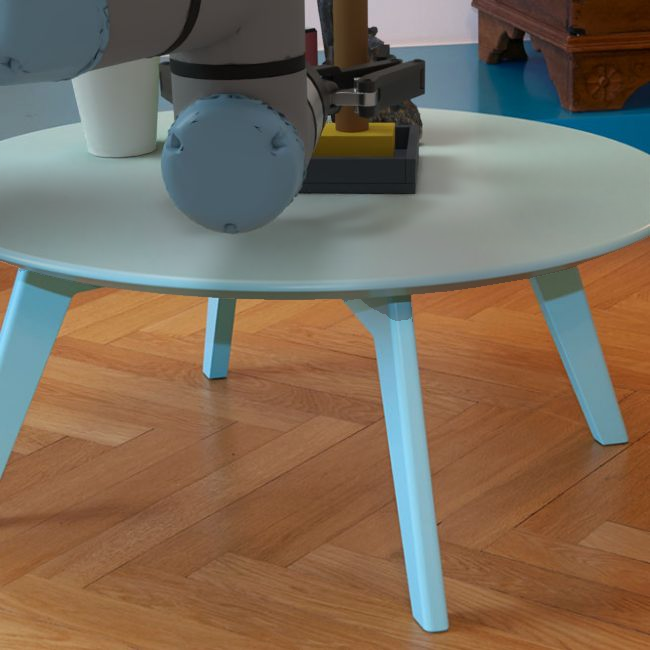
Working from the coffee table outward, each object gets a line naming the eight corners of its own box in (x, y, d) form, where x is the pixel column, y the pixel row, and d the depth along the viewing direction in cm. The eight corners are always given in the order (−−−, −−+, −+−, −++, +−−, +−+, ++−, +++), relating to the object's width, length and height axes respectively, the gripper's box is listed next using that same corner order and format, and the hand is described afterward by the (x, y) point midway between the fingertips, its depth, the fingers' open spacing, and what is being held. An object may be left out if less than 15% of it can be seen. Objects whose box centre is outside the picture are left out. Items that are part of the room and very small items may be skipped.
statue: (403, 151, 103) (403, -20, 98) (304, 135, 111) (299, -26, 105) (438, 140, 107) (440, -26, 102) (340, 125, 114) (337, -31, 109)
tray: (197, 192, 92) (195, 158, 91) (225, 155, 104) (223, 124, 102) (415, 193, 90) (415, 158, 89) (418, 155, 102) (419, 124, 101)
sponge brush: (308, 171, 94) (303, -3, 89) (314, 157, 99) (310, -10, 94) (392, 171, 94) (392, -5, 88) (394, 157, 98) (395, -11, 93)
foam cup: (143, 164, 101) (130, 14, 96) (52, 158, 104) (36, 12, 99) (189, 140, 109) (179, 1, 104) (103, 135, 112) (90, 0, 107)
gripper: (84, 171, 76) (156, 108, 96) (458, 171, 74) (454, 106, 93) (72, 57, 73) (149, 16, 93) (461, 54, 71) (456, 13, 91)
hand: (302, 61), depth 93 cm, fingers open, 13 cm apart
